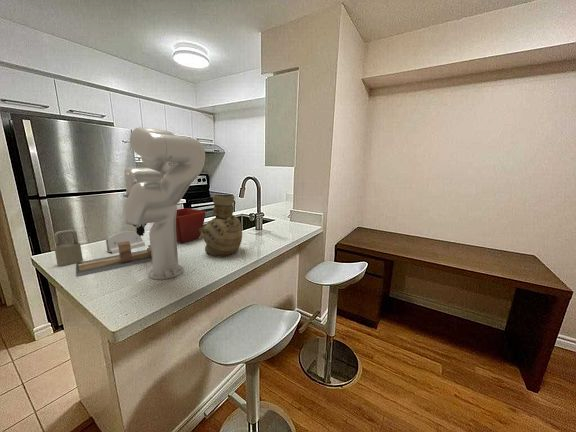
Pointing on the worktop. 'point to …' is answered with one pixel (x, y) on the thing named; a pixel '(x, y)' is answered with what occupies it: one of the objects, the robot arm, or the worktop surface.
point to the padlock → (67, 250)
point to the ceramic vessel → (222, 228)
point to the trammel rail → (113, 260)
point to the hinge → (122, 237)
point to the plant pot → (188, 224)
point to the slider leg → (125, 251)
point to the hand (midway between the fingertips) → (140, 235)
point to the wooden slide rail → (111, 266)
